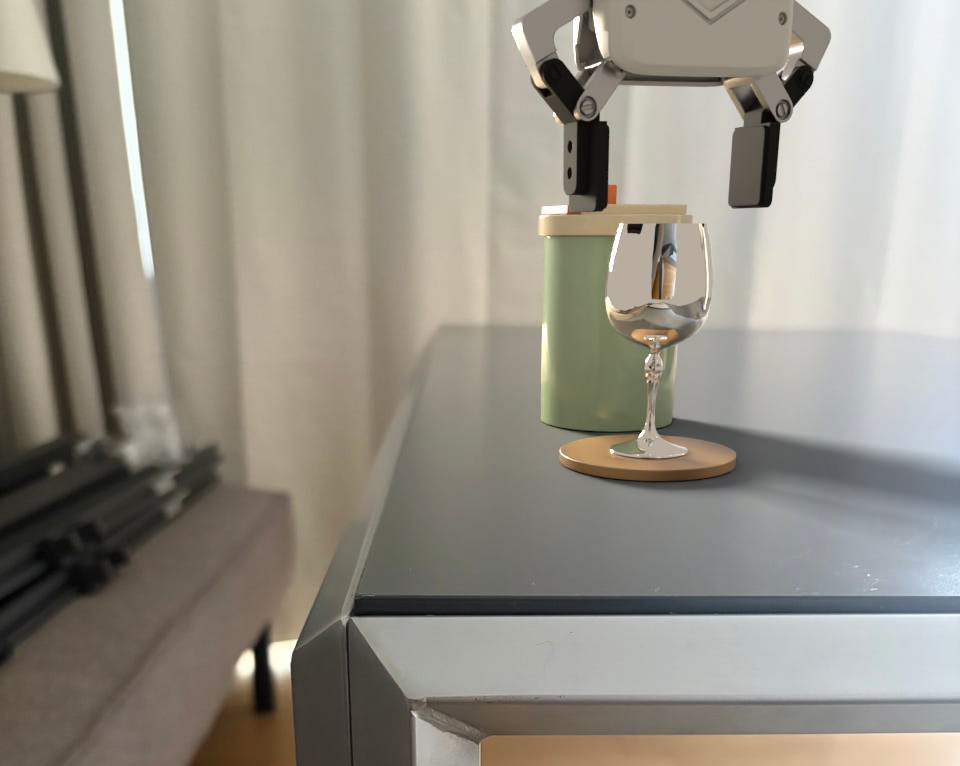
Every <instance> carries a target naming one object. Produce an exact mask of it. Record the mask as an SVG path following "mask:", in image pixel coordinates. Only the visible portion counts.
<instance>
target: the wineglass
mask: <svg viewBox="0 0 960 766" xmlns="http://www.w3.org/2000/svg"><path fill="white" fill-rule="evenodd" d="M713 261H714V259H713V251H712V243H711V238H710V232H709V226H708V223H699V222H698V223H697V222H696V223H695V222H693V223H657V224H618V227H617V230H616V234H615V238H614V242H613V245H612V249H611V253H610V258H609V263H608V268H607V274H606V281H605V308H606V313H607V317H608V320H609V322H610V324H611V326H612V328H613V329H614V330H615V332H616V333H617V334H619V335H620V336H621V337H623V338H624V339H626V340H627V341H629V342H631V343H633V344H635V345H637V346H640V347H643V348H646V349H648V350H649V352H650V355H649V357H648V358H647V360H646V363H645V367H644V372H645V378H646V382H647V390H648V403H647V416H646V423H645V427H644V430H642V431H641V433H640V434H638V435H639V436H638V437H637V438H635V439H633V440H630V441H627V442H621V443H617V444H614V445H612V446H610V449H609V450H610V451H611V452H612V453H614V454H617V455H621V456H626V457H633V458H647V459H662V458H674V457H679V456H683V455H685V454H687V453H688V449H687V448H686V447H684V446H681V445H678V444H674V443H670V442H668V441H666V440H664V439H662V438H661V437H660V436H659V435H660V434H659V433H658V431H657V429H656V427H655V403H656V393H657V389H658V385H659V380H660V378H661V376H662V371H663V363H662V359H661V357H660V355H659V353H660V351H661V350H662V349H665V348H668V347H671V346H674V345H677V344H678V345H679V344H681V343H683V342H685V341H687V340H689V339H690V338H692V337H693V336H695V335H696V334H697V333H698V332H699V331H700V330H701V329H702V327H703V326H704V324H705V323H706V321H707V320H708V317H709V313H710V310H711V306H712V301H713V295H714V262H713Z"/></svg>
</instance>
